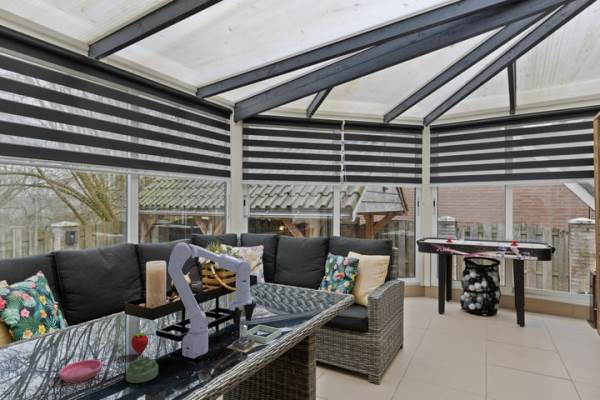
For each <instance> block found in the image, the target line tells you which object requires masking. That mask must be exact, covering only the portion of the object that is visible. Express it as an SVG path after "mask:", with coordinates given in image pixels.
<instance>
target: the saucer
mask: <svg viewBox="0 0 600 400" xmlns="http://www.w3.org/2000/svg"><path fill="white" fill-rule="evenodd" d="M102 368H103V362H102V361H101V360H99V359H84V360H78V361H74V362H71V363H69V364H67V365H65V366H64V367H62V368H61V369H59V371H58V377H59V378H60V379H61V380H63V381H64V382H65V381H66V383H67V382H71V383H70V384H76V383H75V382H78V383H82V381H83V382H85V381H88V379H89V380H90V378H91V379H93V378H95V376H97V374H98V373H100V372H101V370H102ZM92 377H93V378H92Z"/></svg>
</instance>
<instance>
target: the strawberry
mask: <svg viewBox="0 0 600 400" xmlns="http://www.w3.org/2000/svg"><path fill="white" fill-rule="evenodd" d="M137 331H138V333H137V334H133V335H131V337H132V338H131V341H130V343H131V348H133V350H134V351H135V352H136V354H137V355H138V356H142V355H143V353H144V351H146V349H147V347H148V344H149V337H148V335H147V333H146V332H140V331H139V330H138V329H137Z"/></svg>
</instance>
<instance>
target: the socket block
mask: <svg viewBox="0 0 600 400" xmlns="http://www.w3.org/2000/svg"><path fill="white" fill-rule="evenodd" d="M239 340H240V338H238V339H236V340H235V341H233V342H231V344H230V345H228V346H226V347H225V348H227V349H231V350H234V351H238V352H241V353H248V352H249V351H251V350H253V349H254V348H256V347H257V346H259V345H261V344H262V343H261V342H257V341H255V340H252V339H248V340H249V343H248V344H246V345H242V344H238V341H239Z"/></svg>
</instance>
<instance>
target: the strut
mask: <svg viewBox="0 0 600 400" xmlns="http://www.w3.org/2000/svg"><path fill="white" fill-rule="evenodd" d="M247 331H248V324H240V326H239V339H240V340H239V341H238V344H242V345H246V344H248V343H249V340H248V339H247Z"/></svg>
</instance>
